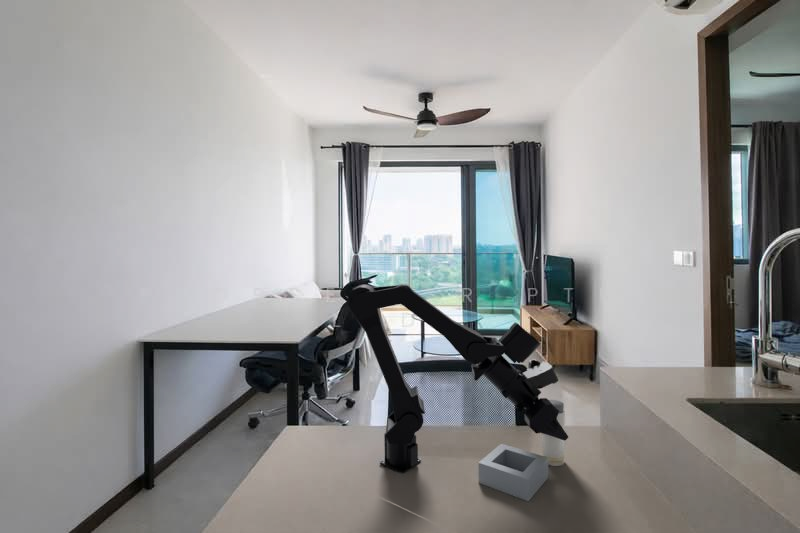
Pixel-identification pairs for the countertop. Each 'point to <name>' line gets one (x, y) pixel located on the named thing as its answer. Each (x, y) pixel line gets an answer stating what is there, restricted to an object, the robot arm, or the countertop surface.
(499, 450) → the socket block
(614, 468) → the countertop surface
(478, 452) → the countertop surface
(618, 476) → the countertop surface
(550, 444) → the white plastic bottle
